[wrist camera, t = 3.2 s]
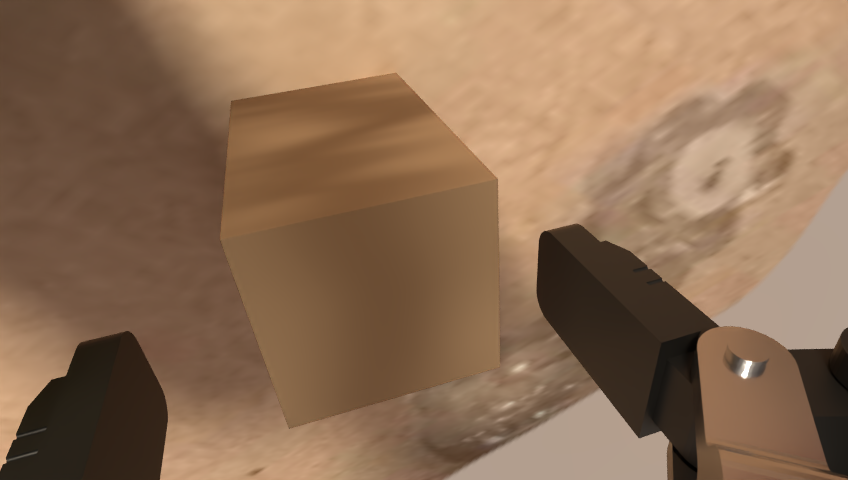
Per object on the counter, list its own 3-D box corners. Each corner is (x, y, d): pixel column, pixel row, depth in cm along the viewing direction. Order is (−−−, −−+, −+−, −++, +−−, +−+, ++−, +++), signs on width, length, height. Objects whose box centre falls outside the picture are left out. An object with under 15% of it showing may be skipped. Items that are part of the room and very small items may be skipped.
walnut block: (396, 72, 16) (497, 179, 10) (412, 211, 19) (499, 367, 12) (231, 101, 15) (219, 239, 9) (273, 242, 18) (289, 428, 11)
